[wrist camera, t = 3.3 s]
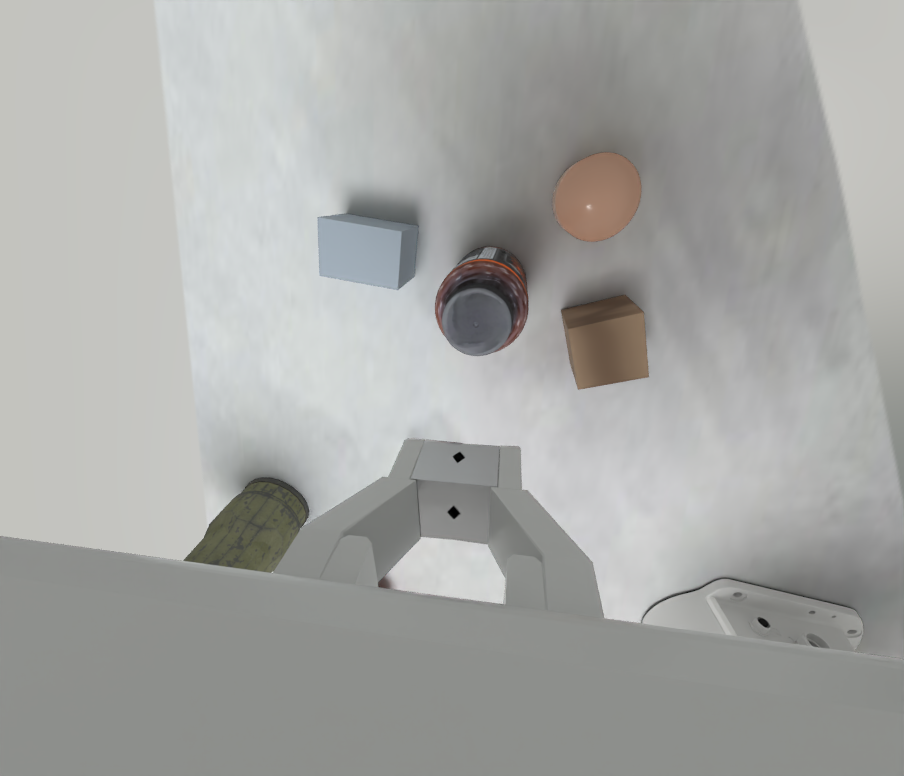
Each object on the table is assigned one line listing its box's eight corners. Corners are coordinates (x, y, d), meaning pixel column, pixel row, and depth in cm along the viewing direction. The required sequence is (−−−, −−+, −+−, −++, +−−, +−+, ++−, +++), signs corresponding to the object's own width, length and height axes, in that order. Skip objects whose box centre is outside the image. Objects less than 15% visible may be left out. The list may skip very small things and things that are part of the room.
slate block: (418, 225, 29) (401, 231, 25) (414, 276, 31) (397, 290, 27) (346, 213, 30) (317, 217, 26) (346, 264, 32) (319, 275, 27)
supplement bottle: (536, 301, 31) (545, 353, 21) (471, 328, 33) (451, 387, 23) (510, 230, 29) (506, 251, 19) (442, 263, 30) (406, 298, 21)
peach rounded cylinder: (630, 155, 25) (649, 150, 22) (618, 234, 28) (632, 240, 24) (555, 159, 26) (561, 154, 23) (549, 236, 28) (553, 242, 25)
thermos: (222, 486, 48) (-304, 1011, 17) (294, 468, 44) (-207, 1090, 14) (261, 534, 51) (-121, 1043, 21) (331, 521, 48) (-5, 1113, 17)
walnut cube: (625, 294, 29) (643, 312, 25) (630, 351, 31) (648, 376, 27) (560, 309, 31) (568, 329, 26) (570, 363, 33) (578, 389, 28)
